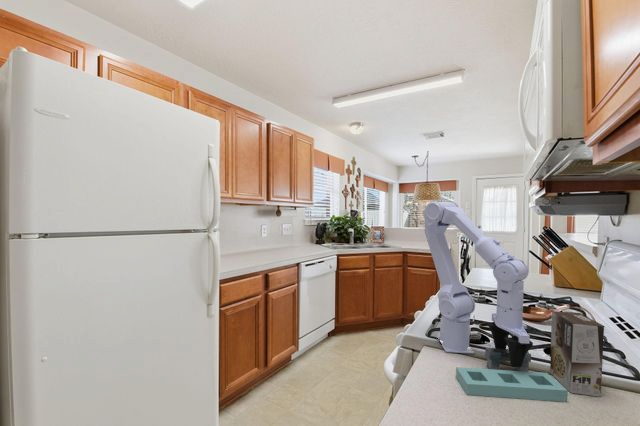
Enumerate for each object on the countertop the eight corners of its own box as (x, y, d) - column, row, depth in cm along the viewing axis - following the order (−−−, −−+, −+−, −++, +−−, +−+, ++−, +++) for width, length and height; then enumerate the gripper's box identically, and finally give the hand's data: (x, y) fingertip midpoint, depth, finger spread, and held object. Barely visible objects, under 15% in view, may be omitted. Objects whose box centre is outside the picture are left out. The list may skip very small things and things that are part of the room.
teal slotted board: (467, 394, 68) (467, 383, 68) (455, 377, 75) (456, 367, 75) (567, 401, 66) (567, 390, 66) (546, 383, 73) (546, 372, 73)
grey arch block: (484, 366, 81) (485, 347, 80) (524, 368, 80) (525, 349, 80) (489, 371, 78) (489, 352, 78) (530, 373, 77) (531, 354, 77)
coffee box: (602, 397, 68) (606, 326, 68) (569, 393, 69) (572, 323, 69) (577, 375, 77) (580, 312, 77) (548, 371, 78) (551, 309, 78)
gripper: (544, 317, 71) (542, 375, 71) (510, 298, 85) (509, 346, 86) (512, 316, 71) (510, 373, 72) (484, 297, 86) (483, 345, 86)
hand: (507, 358), depth 79 cm, fingers open, 7 cm apart
